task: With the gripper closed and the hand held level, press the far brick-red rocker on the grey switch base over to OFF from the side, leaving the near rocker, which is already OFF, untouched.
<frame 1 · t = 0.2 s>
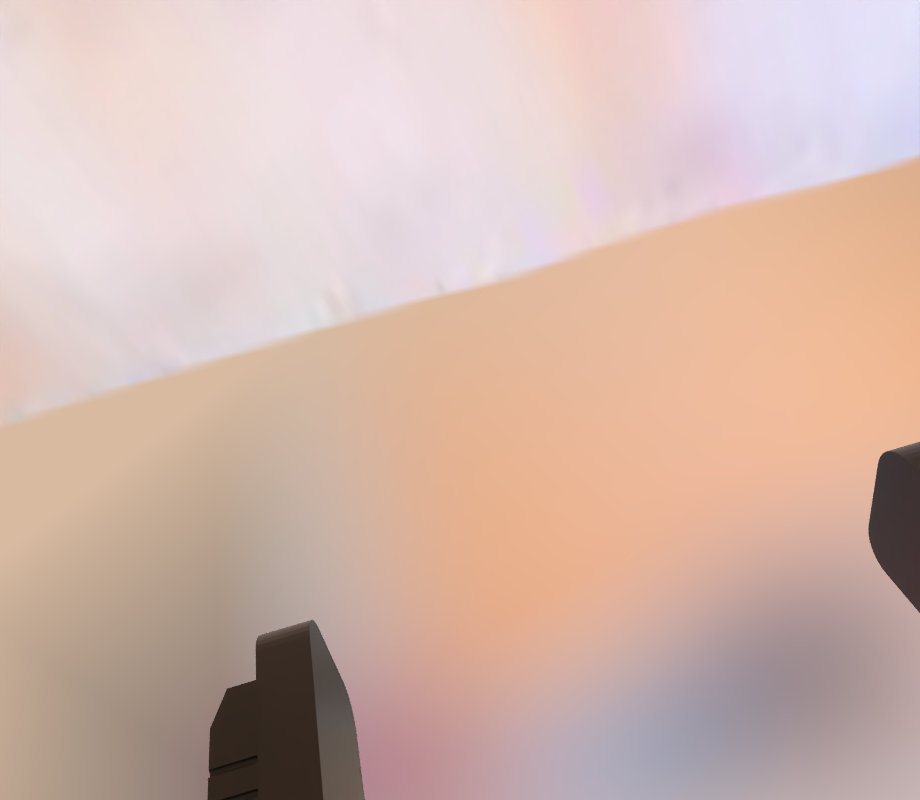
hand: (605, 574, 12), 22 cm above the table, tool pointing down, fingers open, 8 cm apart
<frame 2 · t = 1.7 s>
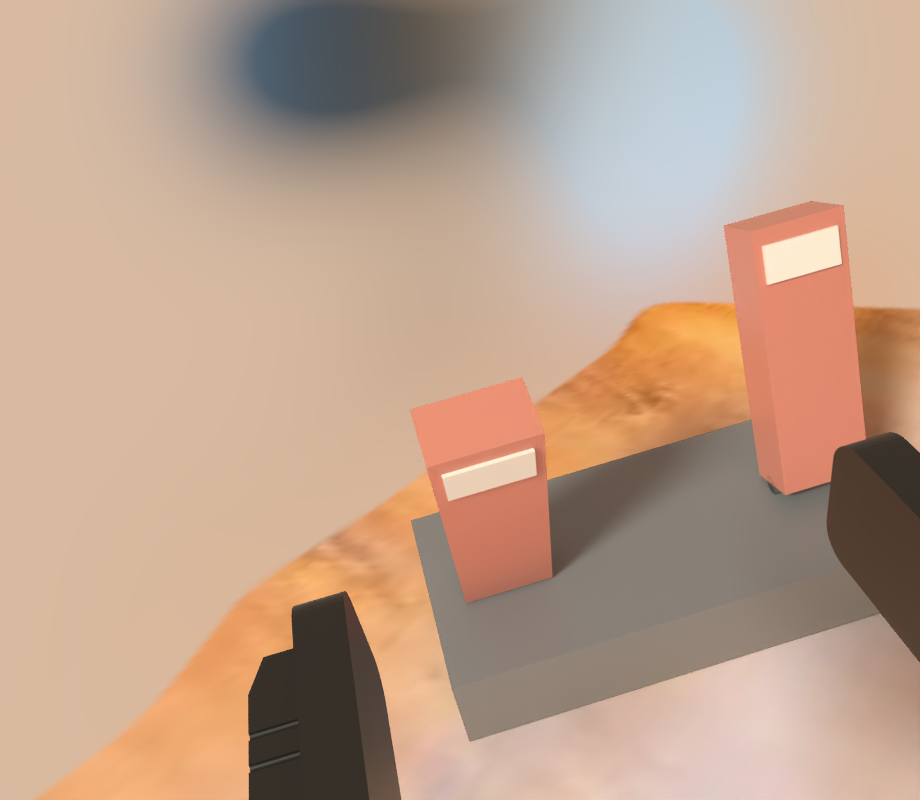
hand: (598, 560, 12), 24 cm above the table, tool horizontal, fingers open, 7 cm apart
grey switch base: (663, 582, 41), on the table
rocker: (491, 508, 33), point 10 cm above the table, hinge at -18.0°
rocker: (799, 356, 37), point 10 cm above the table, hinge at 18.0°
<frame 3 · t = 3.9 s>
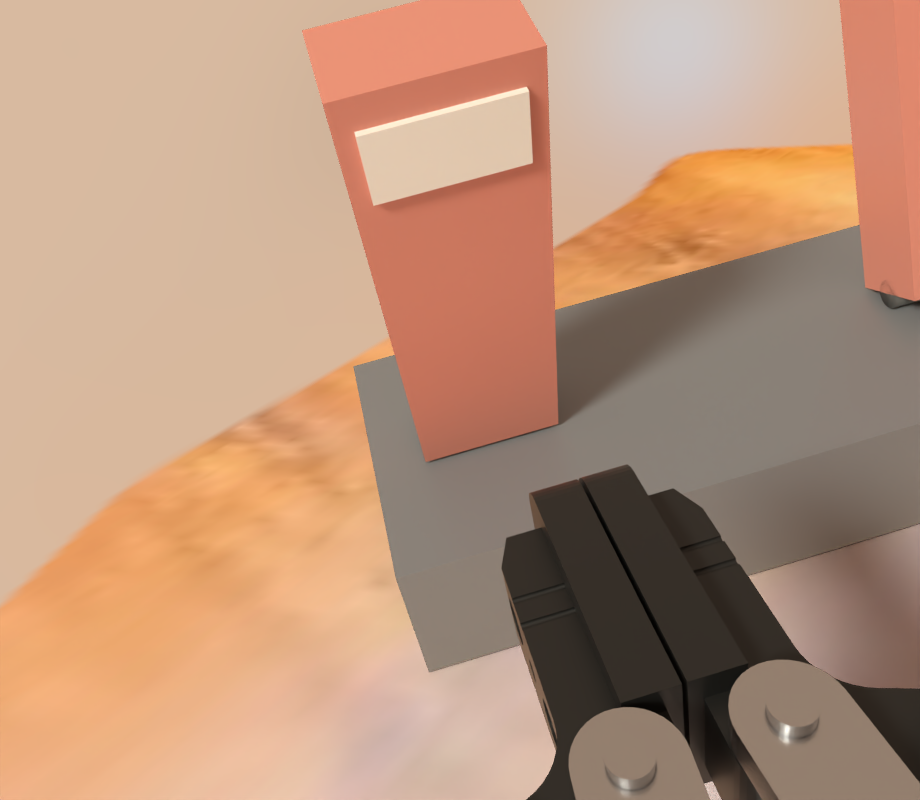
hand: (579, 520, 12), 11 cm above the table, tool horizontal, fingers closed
grey switch base: (719, 453, 28), on the table
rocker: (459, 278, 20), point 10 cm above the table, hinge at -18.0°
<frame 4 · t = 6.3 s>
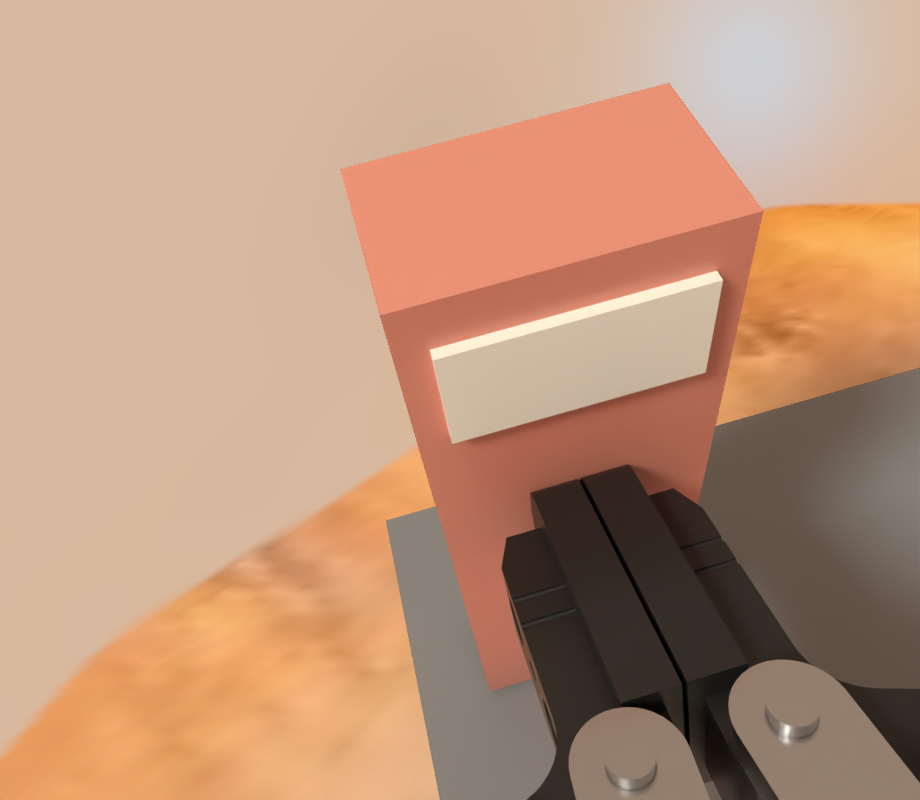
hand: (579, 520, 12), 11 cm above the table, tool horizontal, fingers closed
grey switch base: (857, 641, 22), on the table
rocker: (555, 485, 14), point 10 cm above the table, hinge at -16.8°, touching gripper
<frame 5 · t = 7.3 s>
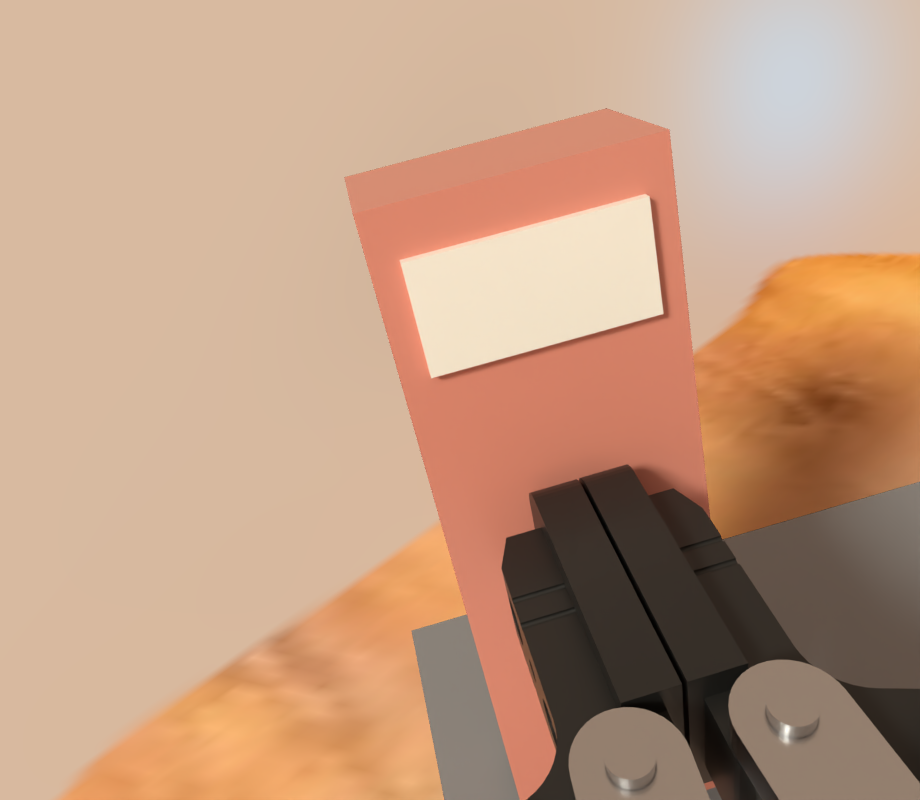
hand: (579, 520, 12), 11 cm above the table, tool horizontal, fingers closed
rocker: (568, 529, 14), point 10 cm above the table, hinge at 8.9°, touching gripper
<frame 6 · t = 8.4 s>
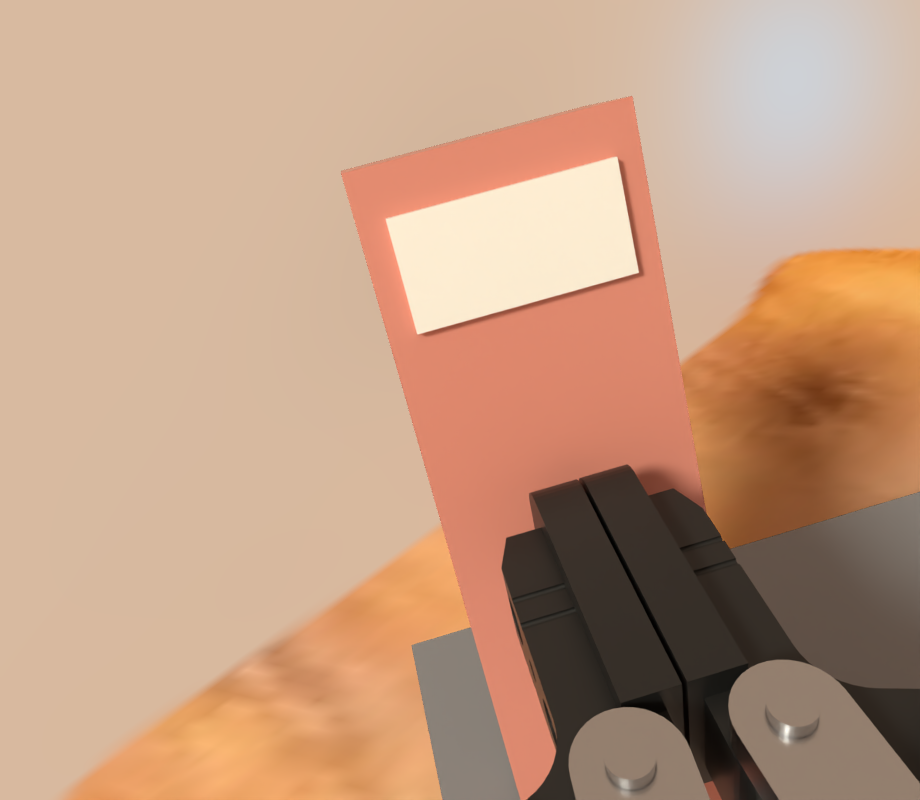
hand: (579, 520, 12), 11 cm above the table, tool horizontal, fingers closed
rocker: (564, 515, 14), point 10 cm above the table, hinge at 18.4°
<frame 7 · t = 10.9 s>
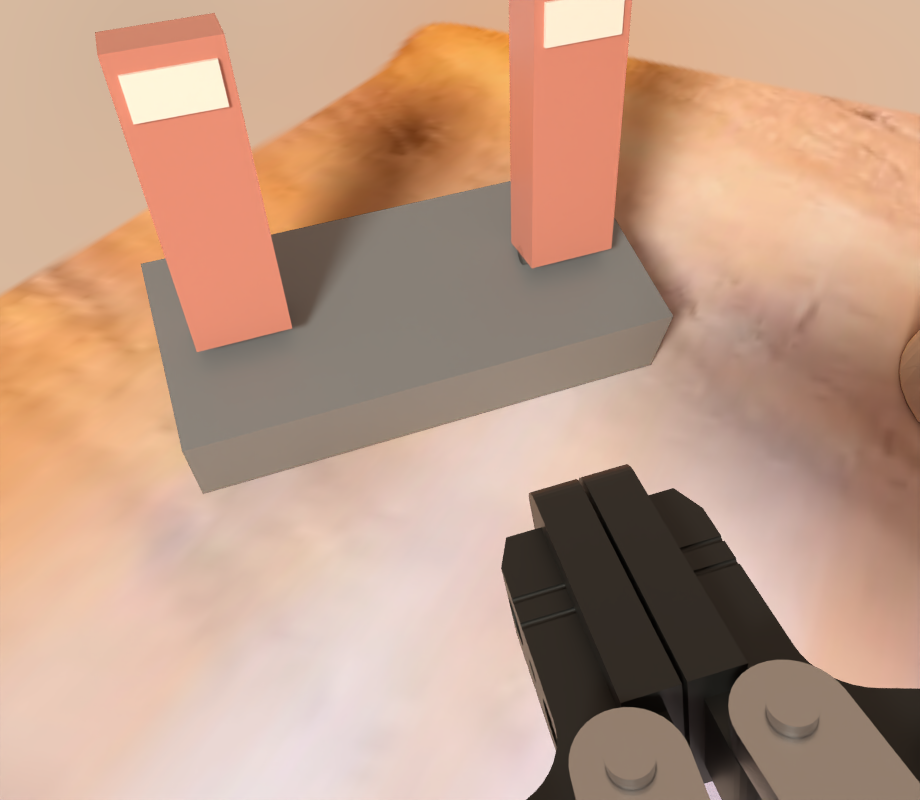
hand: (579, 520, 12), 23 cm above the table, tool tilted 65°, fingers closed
grey switch base: (407, 340, 41), on the table
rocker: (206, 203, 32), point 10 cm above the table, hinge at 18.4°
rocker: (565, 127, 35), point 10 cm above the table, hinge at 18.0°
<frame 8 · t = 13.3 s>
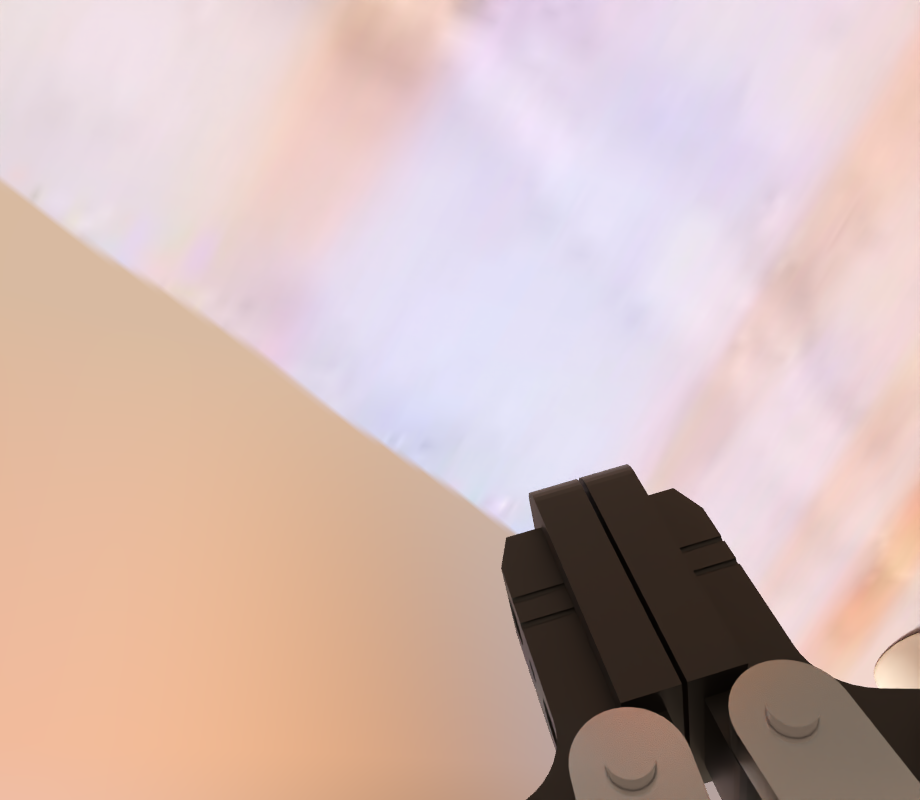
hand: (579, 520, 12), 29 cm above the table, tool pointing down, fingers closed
milk bottle: (910, 655, 73), on the table
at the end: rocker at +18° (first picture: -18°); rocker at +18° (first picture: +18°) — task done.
